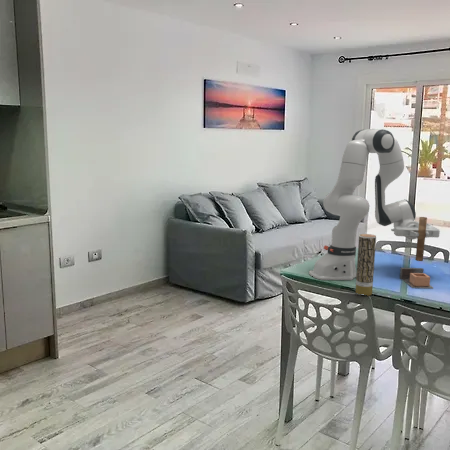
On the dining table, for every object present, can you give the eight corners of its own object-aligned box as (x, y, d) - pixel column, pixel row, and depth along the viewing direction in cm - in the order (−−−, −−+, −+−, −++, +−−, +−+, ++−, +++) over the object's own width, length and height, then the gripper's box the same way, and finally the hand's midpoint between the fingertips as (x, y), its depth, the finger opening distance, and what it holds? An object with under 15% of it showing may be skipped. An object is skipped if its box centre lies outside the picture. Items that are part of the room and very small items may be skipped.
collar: (429, 286, 222) (430, 277, 222) (414, 285, 222) (415, 276, 222) (424, 281, 229) (424, 273, 228) (409, 281, 229) (410, 273, 228)
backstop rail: (434, 288, 221) (435, 277, 220) (411, 288, 221) (412, 276, 221) (421, 278, 237) (422, 268, 236) (399, 278, 237) (400, 267, 236)
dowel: (418, 261, 231) (422, 218, 227) (413, 259, 234) (418, 216, 230) (424, 261, 231) (428, 217, 228) (419, 259, 234) (424, 216, 231)
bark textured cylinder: (372, 297, 207) (376, 237, 203) (355, 295, 209) (359, 236, 205) (371, 292, 214) (375, 234, 210) (354, 291, 215) (358, 233, 211)
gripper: (390, 222, 243) (400, 227, 229) (432, 224, 243) (445, 228, 229) (389, 235, 244) (398, 241, 230) (431, 236, 244) (443, 242, 230)
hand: (422, 235), depth 230 cm, fingers closed on dowel, 3 cm apart
